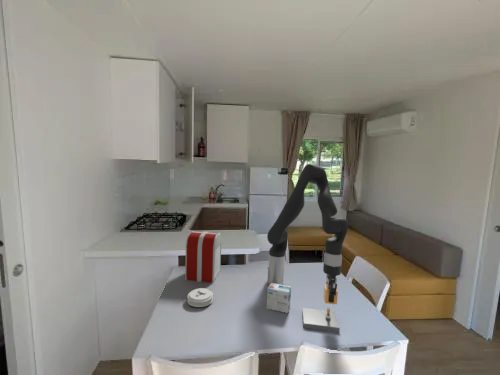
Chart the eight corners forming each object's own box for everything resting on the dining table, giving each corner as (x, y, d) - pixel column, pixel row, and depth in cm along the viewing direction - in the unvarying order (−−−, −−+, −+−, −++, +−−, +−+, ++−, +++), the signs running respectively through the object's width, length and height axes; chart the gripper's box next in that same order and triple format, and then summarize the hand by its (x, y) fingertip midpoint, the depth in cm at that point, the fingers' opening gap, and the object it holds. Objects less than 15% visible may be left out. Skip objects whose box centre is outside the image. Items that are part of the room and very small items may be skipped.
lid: (199, 292, 139) (199, 283, 139) (218, 299, 133) (218, 290, 133) (182, 303, 128) (182, 294, 128) (201, 311, 122) (202, 301, 122)
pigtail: (325, 319, 116) (326, 309, 116) (325, 316, 119) (325, 307, 118) (330, 320, 116) (331, 310, 116) (330, 317, 118) (330, 307, 118)
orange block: (325, 303, 114) (325, 290, 114) (323, 297, 119) (324, 284, 119) (336, 304, 114) (337, 291, 113) (334, 298, 119) (335, 286, 118)
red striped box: (194, 268, 169) (195, 228, 166) (220, 271, 166) (222, 230, 164) (184, 280, 153) (185, 235, 150) (213, 283, 150) (214, 237, 147)
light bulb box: (290, 306, 129) (291, 285, 128) (287, 314, 123) (289, 292, 122) (269, 302, 133) (270, 281, 132) (266, 309, 126) (267, 287, 125)
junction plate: (303, 327, 113) (303, 323, 113) (302, 311, 125) (302, 307, 125) (339, 332, 111) (339, 327, 111) (334, 315, 123) (334, 311, 123)
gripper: (321, 255, 122) (319, 290, 124) (326, 268, 108) (323, 306, 110) (338, 257, 121) (335, 291, 123) (344, 269, 107) (342, 308, 109)
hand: (330, 298), depth 116 cm, fingers closed on orange block, 5 cm apart
